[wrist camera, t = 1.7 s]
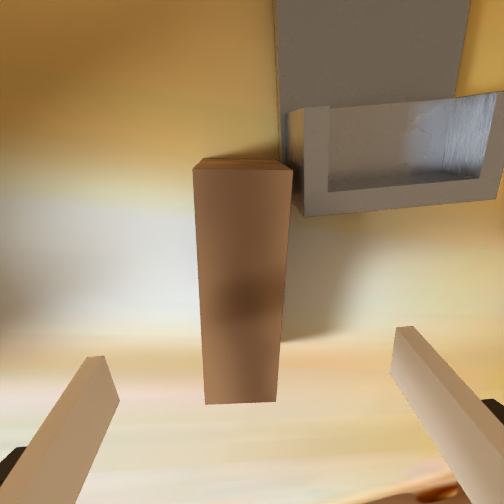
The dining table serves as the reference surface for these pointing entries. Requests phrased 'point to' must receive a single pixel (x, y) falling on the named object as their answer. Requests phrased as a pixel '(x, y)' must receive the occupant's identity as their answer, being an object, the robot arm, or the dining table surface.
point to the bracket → (381, 107)
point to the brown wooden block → (241, 274)
